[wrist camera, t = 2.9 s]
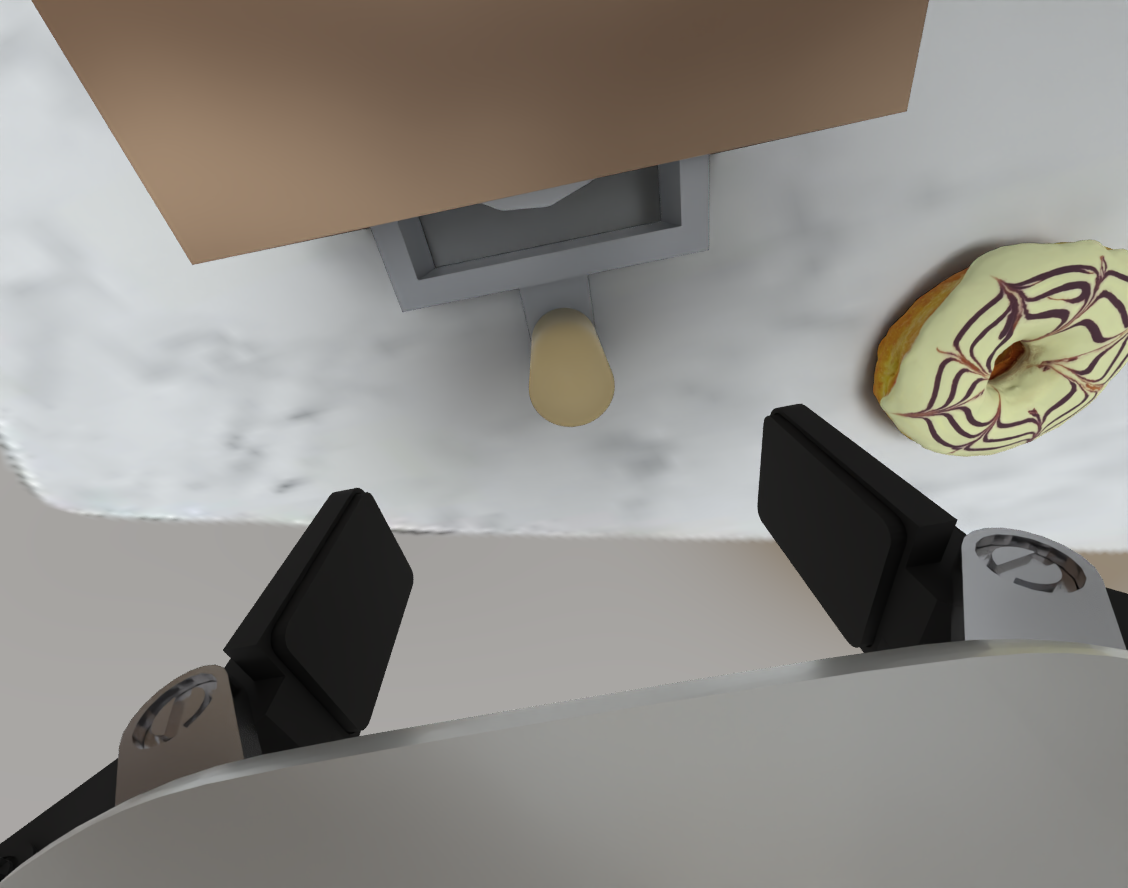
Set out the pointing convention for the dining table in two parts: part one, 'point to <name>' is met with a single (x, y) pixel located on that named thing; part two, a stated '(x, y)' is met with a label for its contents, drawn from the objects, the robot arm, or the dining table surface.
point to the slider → (557, 287)
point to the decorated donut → (1006, 347)
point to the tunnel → (455, 97)
